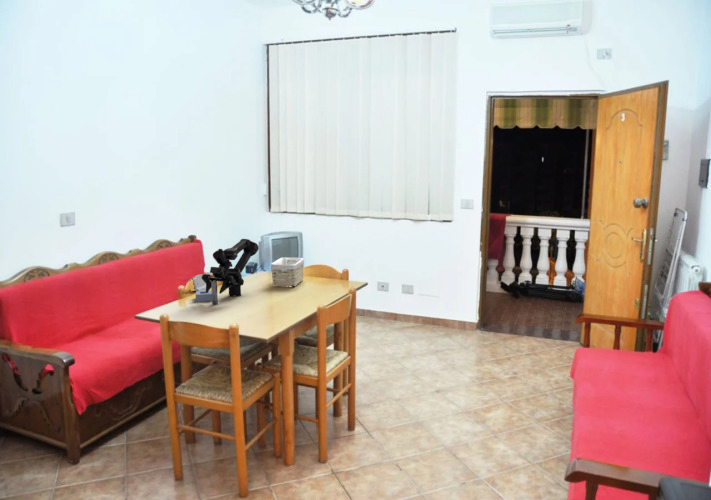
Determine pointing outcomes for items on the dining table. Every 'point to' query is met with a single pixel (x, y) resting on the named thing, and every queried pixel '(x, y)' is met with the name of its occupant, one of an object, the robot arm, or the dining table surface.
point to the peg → (214, 293)
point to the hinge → (199, 283)
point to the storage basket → (287, 272)
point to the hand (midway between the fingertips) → (213, 292)
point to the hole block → (203, 296)
